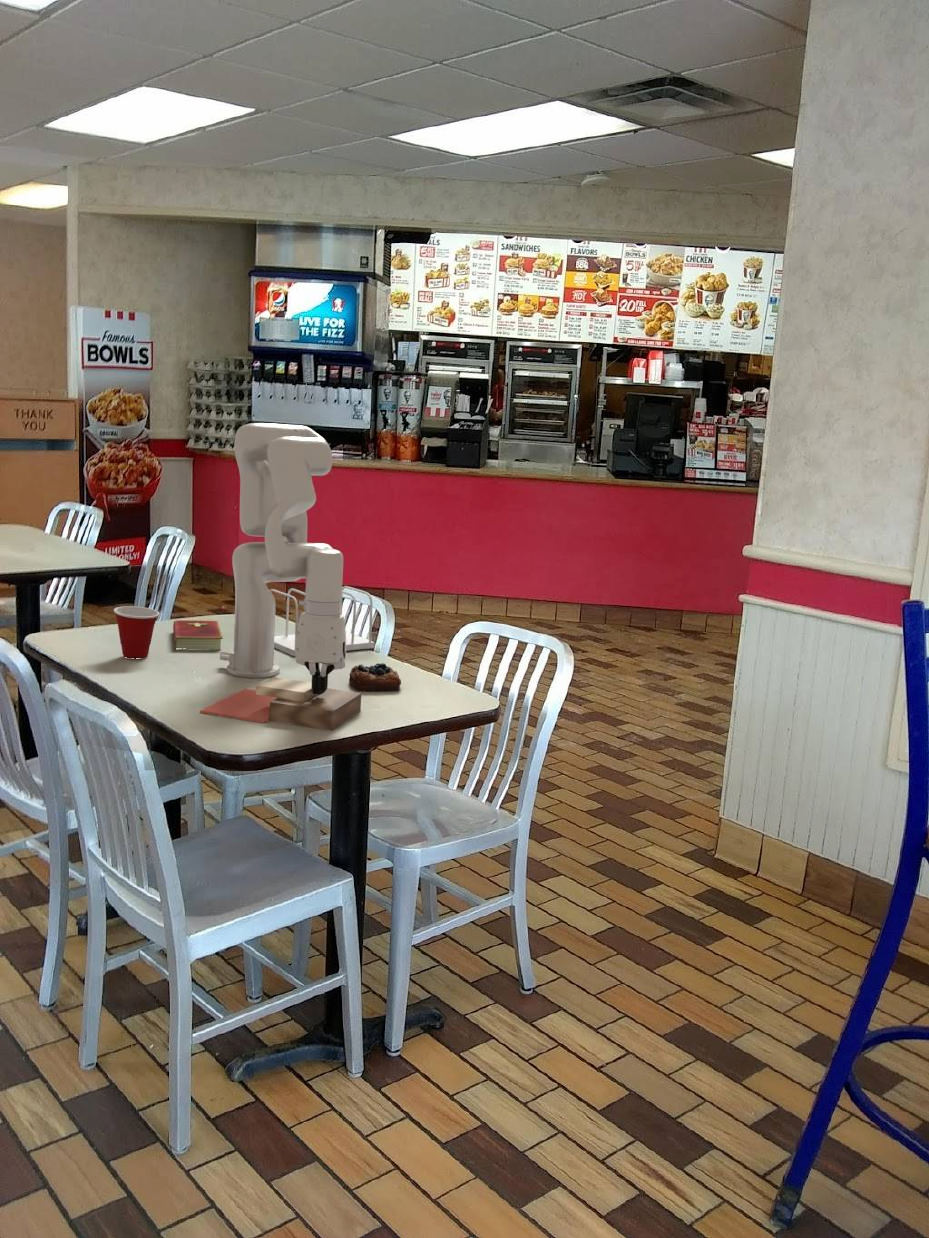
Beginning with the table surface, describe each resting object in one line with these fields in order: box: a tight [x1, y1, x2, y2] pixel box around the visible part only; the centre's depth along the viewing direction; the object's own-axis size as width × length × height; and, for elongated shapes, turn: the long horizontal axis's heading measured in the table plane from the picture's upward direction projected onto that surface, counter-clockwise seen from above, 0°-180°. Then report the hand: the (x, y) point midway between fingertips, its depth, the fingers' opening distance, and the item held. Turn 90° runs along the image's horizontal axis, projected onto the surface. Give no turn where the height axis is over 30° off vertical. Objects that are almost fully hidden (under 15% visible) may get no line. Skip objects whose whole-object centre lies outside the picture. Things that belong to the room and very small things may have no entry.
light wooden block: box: [255, 676, 317, 702], centre depth 228 cm, size 11×8×2 cm
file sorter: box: [269, 585, 375, 657], centre depth 290 cm, size 25×17×16 cm
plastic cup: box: [113, 605, 160, 659], centre depth 264 cm, size 11×11×12 cm
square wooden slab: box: [268, 687, 362, 731], centre depth 227 cm, size 14×16×4 cm
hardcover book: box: [172, 619, 223, 651], centre depth 287 cm, size 12×21×4 cm, turn 16°
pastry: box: [348, 662, 402, 693], centre depth 254 cm, size 11×12×6 cm
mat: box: [199, 688, 276, 723], centre depth 231 cm, size 15×20×1 cm
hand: (319, 692), depth 226 cm, fingers closed
